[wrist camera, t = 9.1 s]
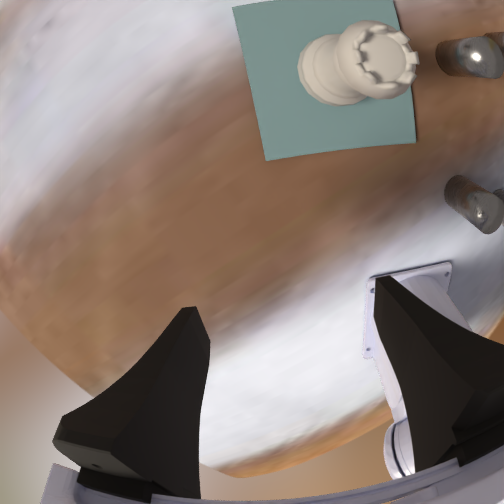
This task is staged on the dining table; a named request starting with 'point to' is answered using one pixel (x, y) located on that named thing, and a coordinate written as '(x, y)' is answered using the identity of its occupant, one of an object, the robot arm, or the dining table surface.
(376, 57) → the rook chess piece
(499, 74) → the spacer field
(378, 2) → the mat
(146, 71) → the dining table surface
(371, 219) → the dining table surface
